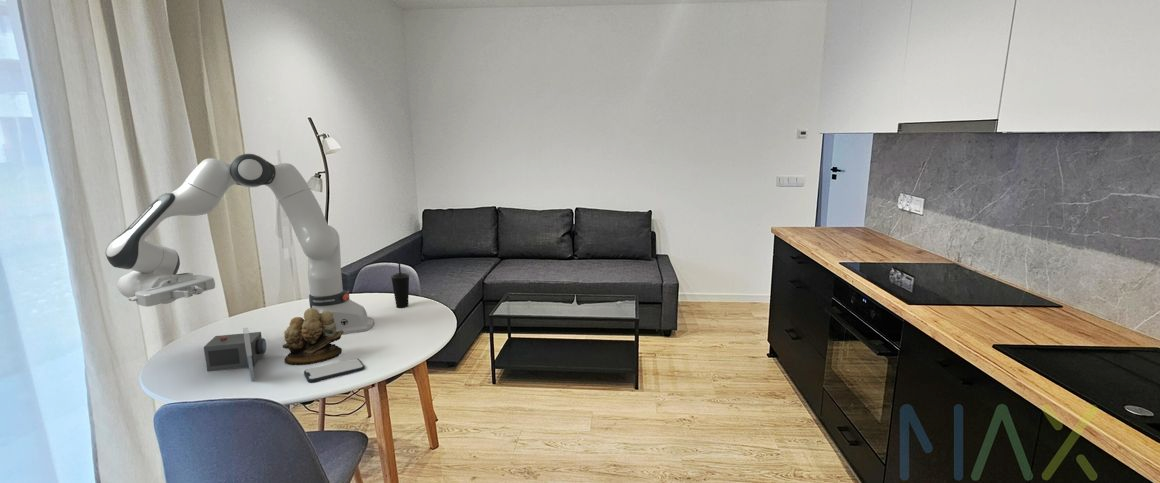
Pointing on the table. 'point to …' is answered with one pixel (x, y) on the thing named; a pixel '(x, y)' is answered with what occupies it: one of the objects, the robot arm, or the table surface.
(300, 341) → the owl figurine
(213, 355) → the camera body
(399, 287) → the drinking cup
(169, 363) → the table surface
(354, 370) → the phone case
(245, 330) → the side door
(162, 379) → the table surface
